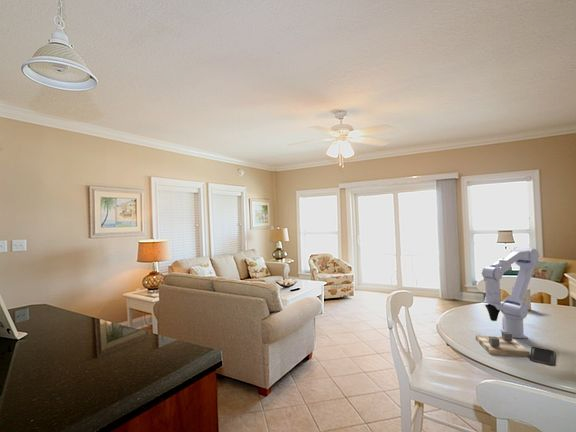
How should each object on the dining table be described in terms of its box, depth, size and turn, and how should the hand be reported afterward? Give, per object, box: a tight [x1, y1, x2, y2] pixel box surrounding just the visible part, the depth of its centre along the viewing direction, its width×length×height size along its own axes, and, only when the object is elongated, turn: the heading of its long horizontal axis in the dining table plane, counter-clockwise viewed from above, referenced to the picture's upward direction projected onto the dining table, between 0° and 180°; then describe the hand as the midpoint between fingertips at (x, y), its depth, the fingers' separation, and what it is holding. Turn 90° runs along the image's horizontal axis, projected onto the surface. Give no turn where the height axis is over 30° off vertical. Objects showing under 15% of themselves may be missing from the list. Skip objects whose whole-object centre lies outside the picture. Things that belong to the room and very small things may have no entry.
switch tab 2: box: [501, 331, 512, 341], centre depth 140 cm, size 3×3×3 cm
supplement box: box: [511, 286, 532, 311], centre depth 190 cm, size 8×5×13 cm, turn 30°
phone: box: [528, 346, 556, 366], centre depth 127 cm, size 8×1×15 cm
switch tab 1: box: [488, 335, 500, 346], centre depth 135 cm, size 3×3×3 cm
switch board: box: [475, 334, 531, 357], centre depth 137 cm, size 16×15×2 cm
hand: (493, 320), depth 145 cm, fingers closed
